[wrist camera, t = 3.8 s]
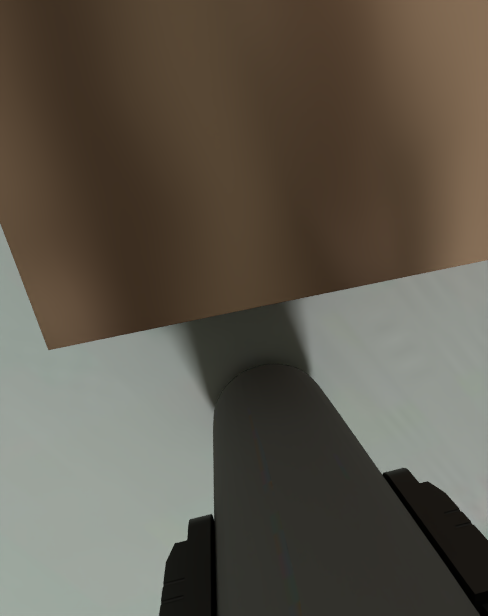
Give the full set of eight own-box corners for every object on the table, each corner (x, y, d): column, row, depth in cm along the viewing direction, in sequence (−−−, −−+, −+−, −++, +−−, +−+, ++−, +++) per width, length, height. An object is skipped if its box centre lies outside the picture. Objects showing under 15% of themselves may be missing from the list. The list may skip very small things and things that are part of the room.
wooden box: (472, -167, 12) (734, -556, 6) (465, 231, 16) (617, 233, 10) (-17, -119, 10) (-295, -554, 5) (111, 301, 14) (48, 350, 9)
